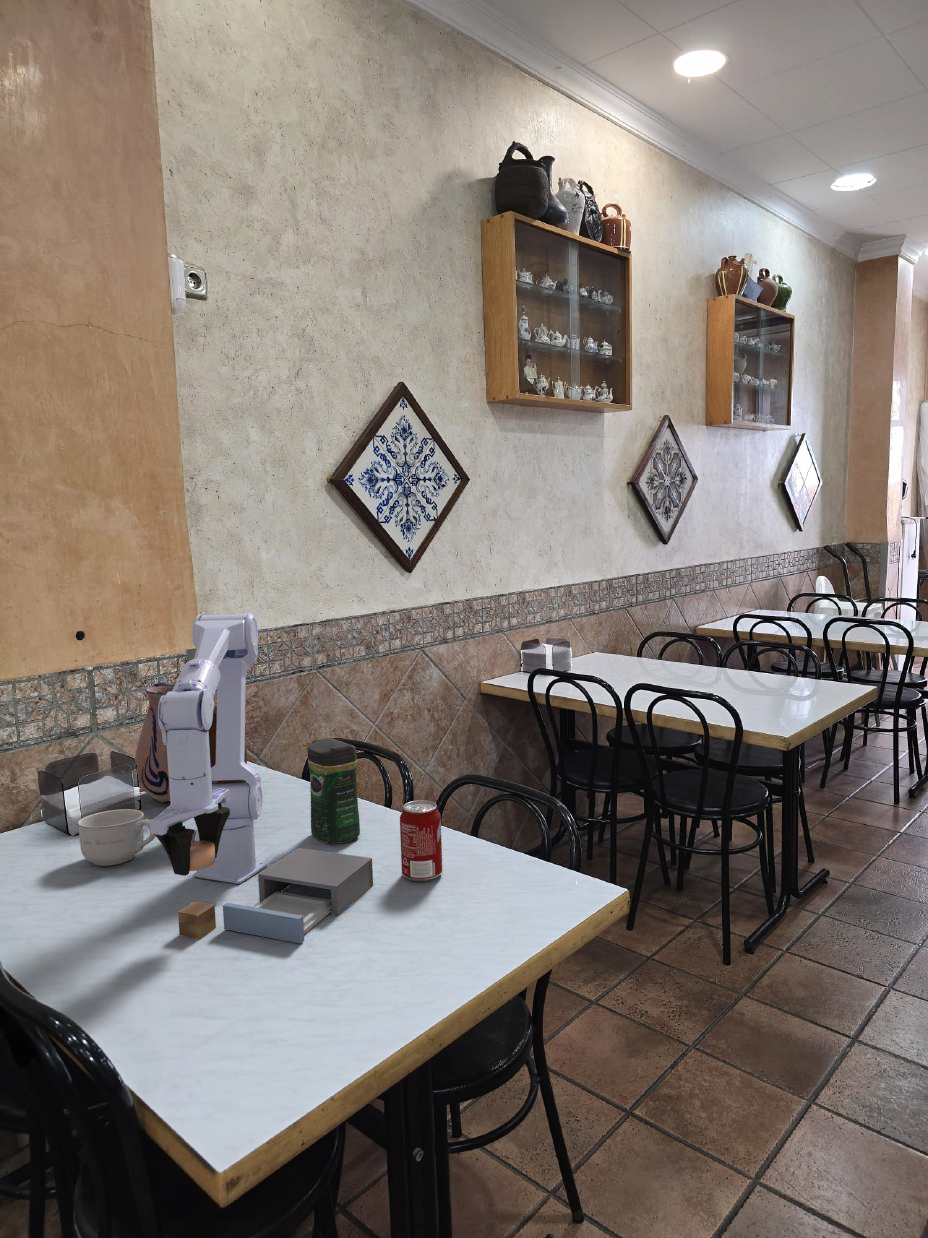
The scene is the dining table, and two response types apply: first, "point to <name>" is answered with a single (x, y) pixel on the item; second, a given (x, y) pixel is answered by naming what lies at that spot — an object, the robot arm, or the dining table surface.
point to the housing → (320, 875)
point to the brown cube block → (196, 920)
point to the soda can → (421, 841)
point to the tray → (277, 916)
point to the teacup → (113, 836)
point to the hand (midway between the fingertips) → (195, 865)
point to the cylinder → (201, 855)
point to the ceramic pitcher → (153, 749)
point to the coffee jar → (333, 791)
